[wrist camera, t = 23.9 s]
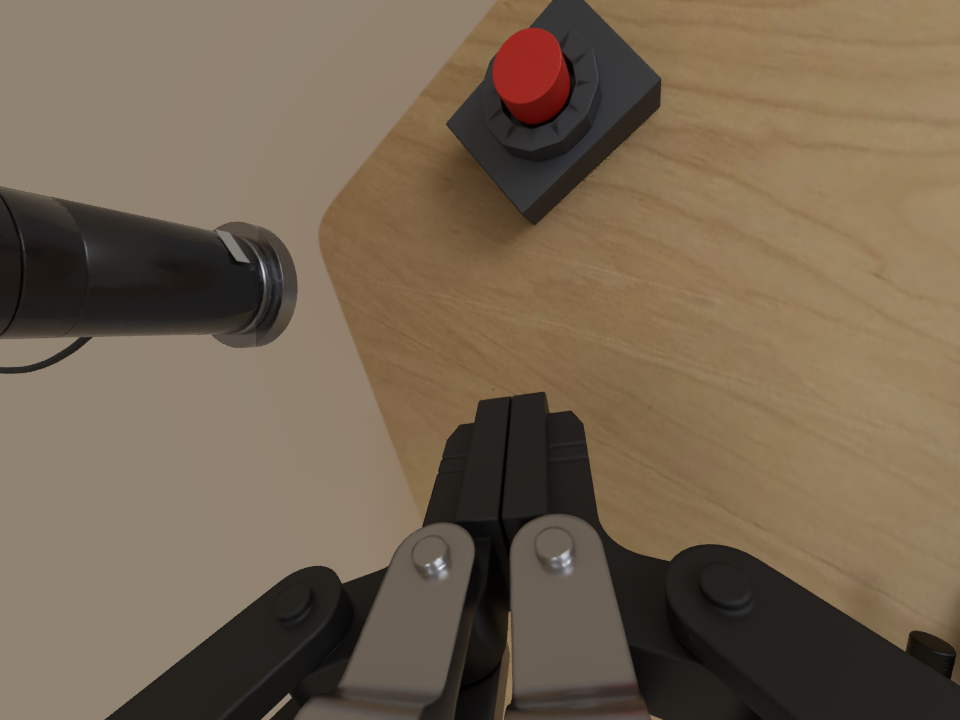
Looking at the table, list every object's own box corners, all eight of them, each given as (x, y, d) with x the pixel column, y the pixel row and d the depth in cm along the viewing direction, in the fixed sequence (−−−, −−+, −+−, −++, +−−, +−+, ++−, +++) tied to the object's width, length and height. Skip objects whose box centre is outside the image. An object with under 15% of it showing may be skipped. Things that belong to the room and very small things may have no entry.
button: (533, 139, 25) (520, 119, 22) (494, 95, 25) (478, 71, 23) (584, 86, 23) (576, 59, 21) (542, 42, 24) (530, 11, 22)
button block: (534, 225, 30) (513, 207, 25) (464, 142, 31) (432, 110, 26) (660, 106, 26) (662, 59, 22) (576, 19, 28) (561, -43, 23)
